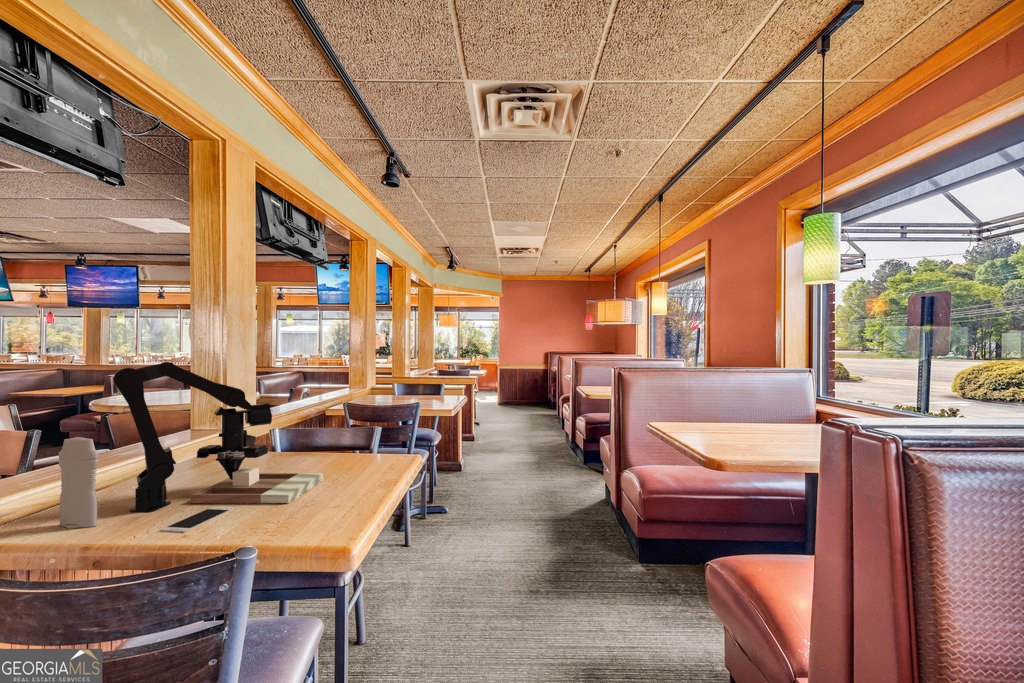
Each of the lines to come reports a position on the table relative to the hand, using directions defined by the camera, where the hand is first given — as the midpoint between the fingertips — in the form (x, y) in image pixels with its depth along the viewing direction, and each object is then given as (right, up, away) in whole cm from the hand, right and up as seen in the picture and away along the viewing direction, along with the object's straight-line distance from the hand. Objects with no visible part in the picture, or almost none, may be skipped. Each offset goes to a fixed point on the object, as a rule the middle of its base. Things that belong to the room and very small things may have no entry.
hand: (232, 479), depth 134 cm
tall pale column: (-23, -4, -25) cm, 34 cm away
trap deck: (+9, -4, 0) cm, 10 cm away
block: (+4, -1, 0) cm, 4 cm away
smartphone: (+6, -4, -22) cm, 23 cm away
